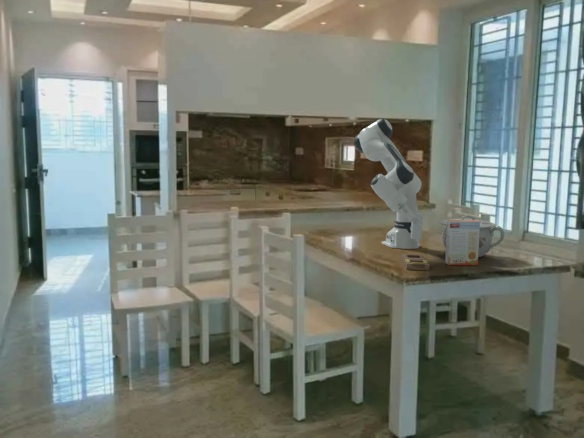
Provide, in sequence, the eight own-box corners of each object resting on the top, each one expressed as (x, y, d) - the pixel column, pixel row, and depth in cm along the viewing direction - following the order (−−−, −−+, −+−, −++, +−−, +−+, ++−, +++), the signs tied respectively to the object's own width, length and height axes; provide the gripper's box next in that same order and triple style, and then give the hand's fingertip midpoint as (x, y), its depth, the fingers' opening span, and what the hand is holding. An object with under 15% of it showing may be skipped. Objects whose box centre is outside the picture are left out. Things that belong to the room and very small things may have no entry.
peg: (410, 237, 276) (411, 212, 275) (420, 238, 276) (421, 213, 275) (411, 239, 272) (413, 213, 270) (421, 239, 272) (422, 214, 270)
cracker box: (473, 263, 275) (476, 219, 272) (477, 265, 269) (480, 221, 266) (444, 262, 275) (446, 219, 272) (448, 265, 269) (450, 220, 266)
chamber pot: (427, 252, 301) (429, 212, 299) (470, 249, 311) (473, 211, 308) (460, 262, 275) (463, 219, 273) (507, 259, 285) (510, 218, 282)
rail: (401, 258, 282) (401, 253, 282) (422, 259, 281) (422, 254, 281) (406, 269, 258) (406, 263, 258) (429, 270, 257) (429, 264, 257)
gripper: (405, 200, 262) (426, 222, 262) (400, 196, 282) (420, 216, 283) (395, 210, 263) (416, 232, 263) (391, 205, 283) (410, 225, 284)
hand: (418, 224), depth 273 cm, fingers closed on peg, 4 cm apart
